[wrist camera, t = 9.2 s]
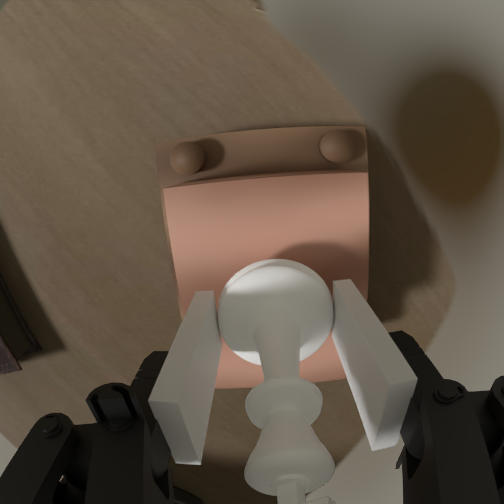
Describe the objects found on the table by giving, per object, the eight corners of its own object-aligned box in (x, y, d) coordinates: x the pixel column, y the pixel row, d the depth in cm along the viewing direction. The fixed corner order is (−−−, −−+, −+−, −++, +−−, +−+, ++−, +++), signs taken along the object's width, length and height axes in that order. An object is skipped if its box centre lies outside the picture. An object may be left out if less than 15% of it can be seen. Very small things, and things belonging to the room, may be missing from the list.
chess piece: (195, 294, 13) (103, 517, 3) (299, 235, 12) (402, 460, 2) (255, 374, 14) (250, 577, 4) (349, 328, 13) (435, 529, 4)
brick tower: (345, 330, 25) (377, 401, 16) (205, 341, 25) (184, 416, 17) (342, 132, 20) (393, 118, 12) (177, 146, 21) (126, 139, 12)
